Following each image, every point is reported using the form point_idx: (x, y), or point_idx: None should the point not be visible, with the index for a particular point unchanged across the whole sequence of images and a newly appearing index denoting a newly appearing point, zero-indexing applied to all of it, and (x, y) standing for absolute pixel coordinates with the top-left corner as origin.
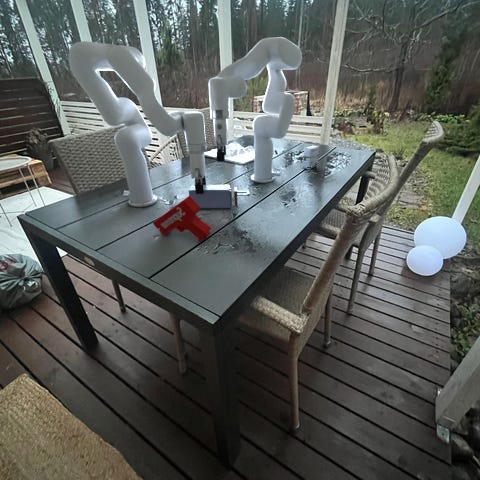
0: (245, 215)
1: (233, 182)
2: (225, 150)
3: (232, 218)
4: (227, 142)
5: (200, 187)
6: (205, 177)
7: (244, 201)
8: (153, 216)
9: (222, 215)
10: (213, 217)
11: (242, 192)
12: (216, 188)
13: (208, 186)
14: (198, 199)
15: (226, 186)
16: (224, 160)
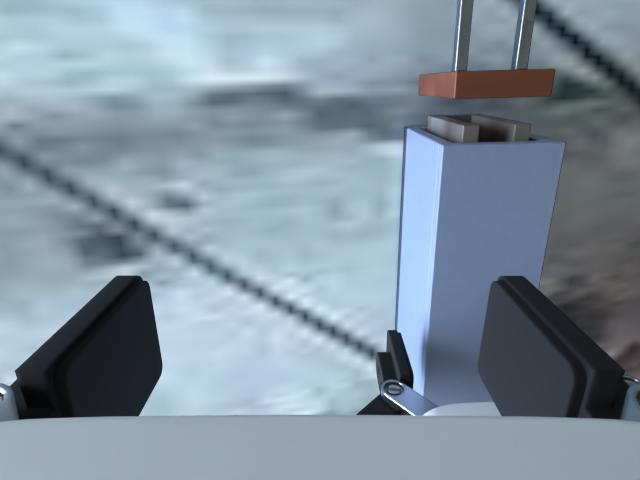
0: (594, 13)
1: (9, 117)
2: (114, 317)
3: (614, 103)
4: (561, 470)
5: None
6: (397, 364)
7: (372, 20)
8: None
9: (561, 166)
10: (575, 215)
11: (470, 22)
12: (517, 250)
13: (463, 311)
14: None
15: (485, 172)
16: (525, 279)
